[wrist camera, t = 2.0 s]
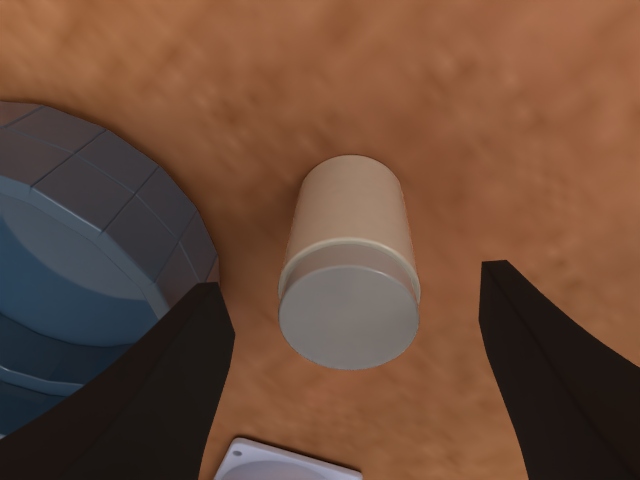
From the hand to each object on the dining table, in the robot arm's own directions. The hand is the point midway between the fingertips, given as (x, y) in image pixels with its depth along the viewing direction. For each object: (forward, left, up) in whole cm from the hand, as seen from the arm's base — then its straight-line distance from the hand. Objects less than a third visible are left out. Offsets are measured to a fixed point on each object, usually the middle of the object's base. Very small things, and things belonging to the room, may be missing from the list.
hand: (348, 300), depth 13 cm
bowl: (-7, +10, -6) cm, 13 cm away
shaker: (0, 0, -6) cm, 6 cm away
